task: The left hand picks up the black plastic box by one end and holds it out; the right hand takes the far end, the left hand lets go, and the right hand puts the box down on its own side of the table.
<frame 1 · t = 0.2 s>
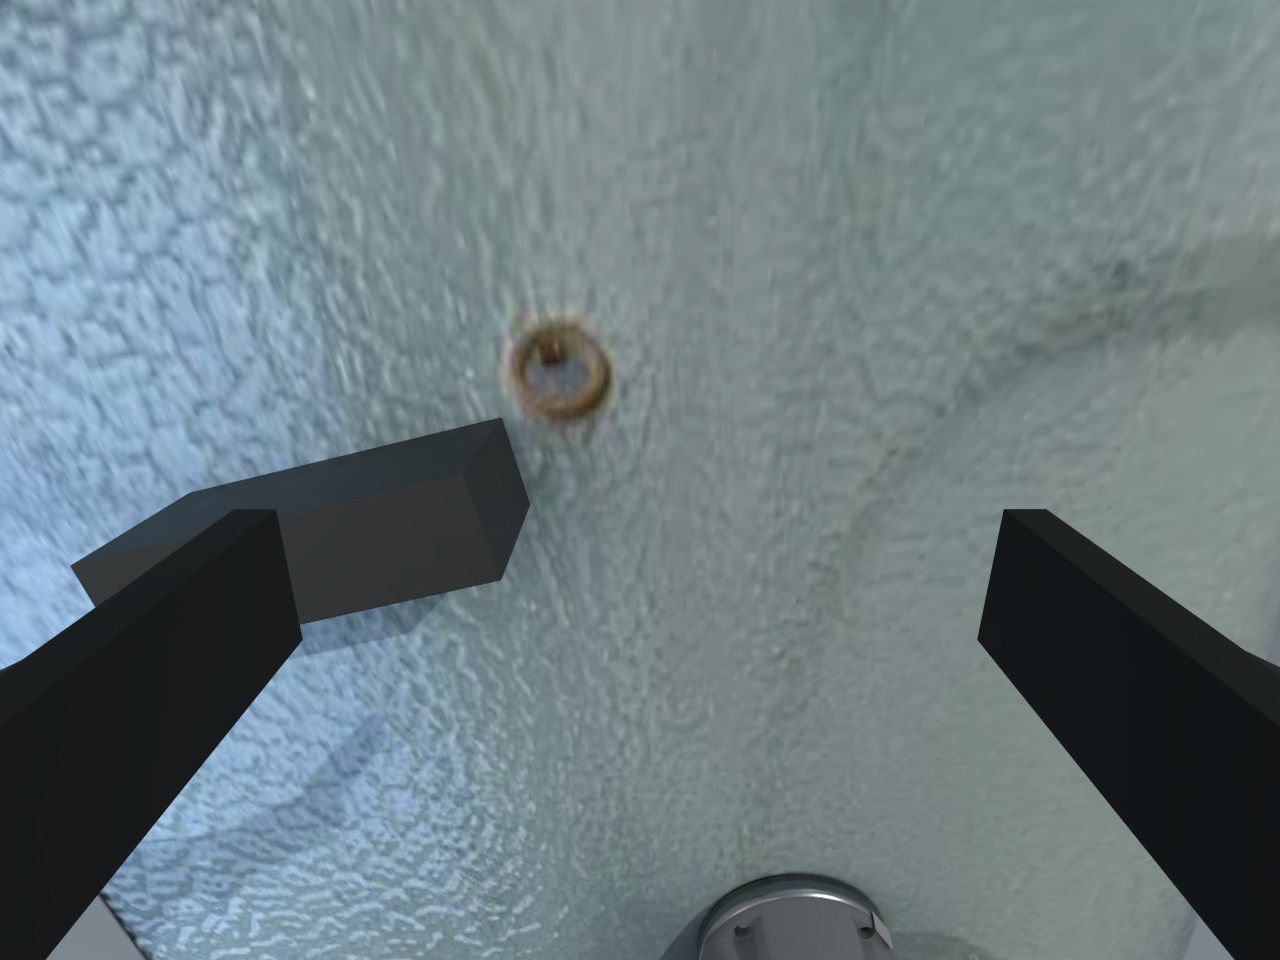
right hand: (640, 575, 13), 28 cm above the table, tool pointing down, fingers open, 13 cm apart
box: (360, 498, 42), on the table
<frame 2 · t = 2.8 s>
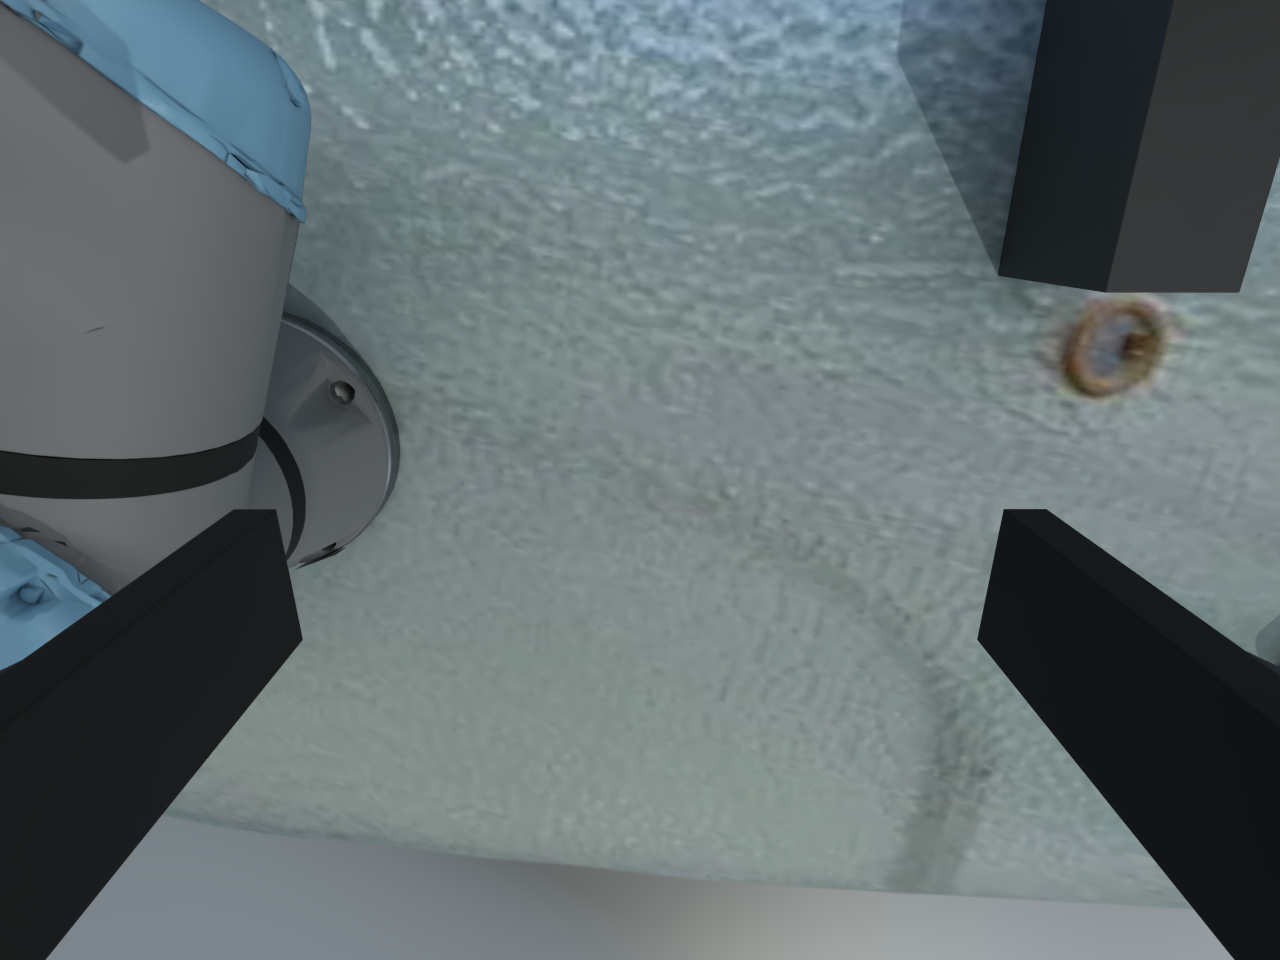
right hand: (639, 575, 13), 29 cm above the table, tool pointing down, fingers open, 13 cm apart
box: (1091, 69, 35), on the table, touching left hand
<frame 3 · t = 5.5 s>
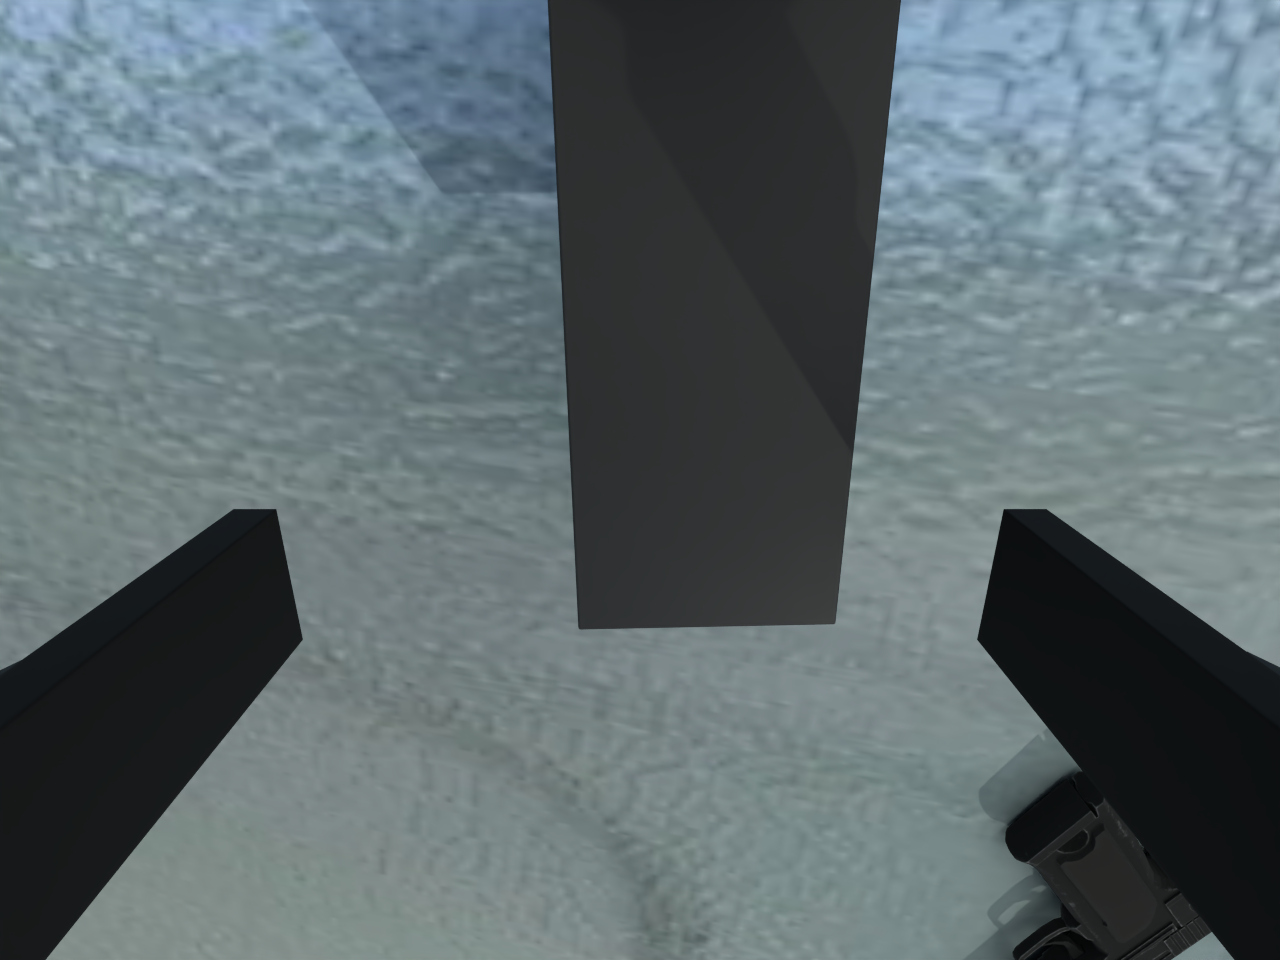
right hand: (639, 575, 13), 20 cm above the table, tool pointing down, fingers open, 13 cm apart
handgun 2: (1028, 914, 45), on the table
box: (680, 165, 21), point 9 cm above the table, touching left hand
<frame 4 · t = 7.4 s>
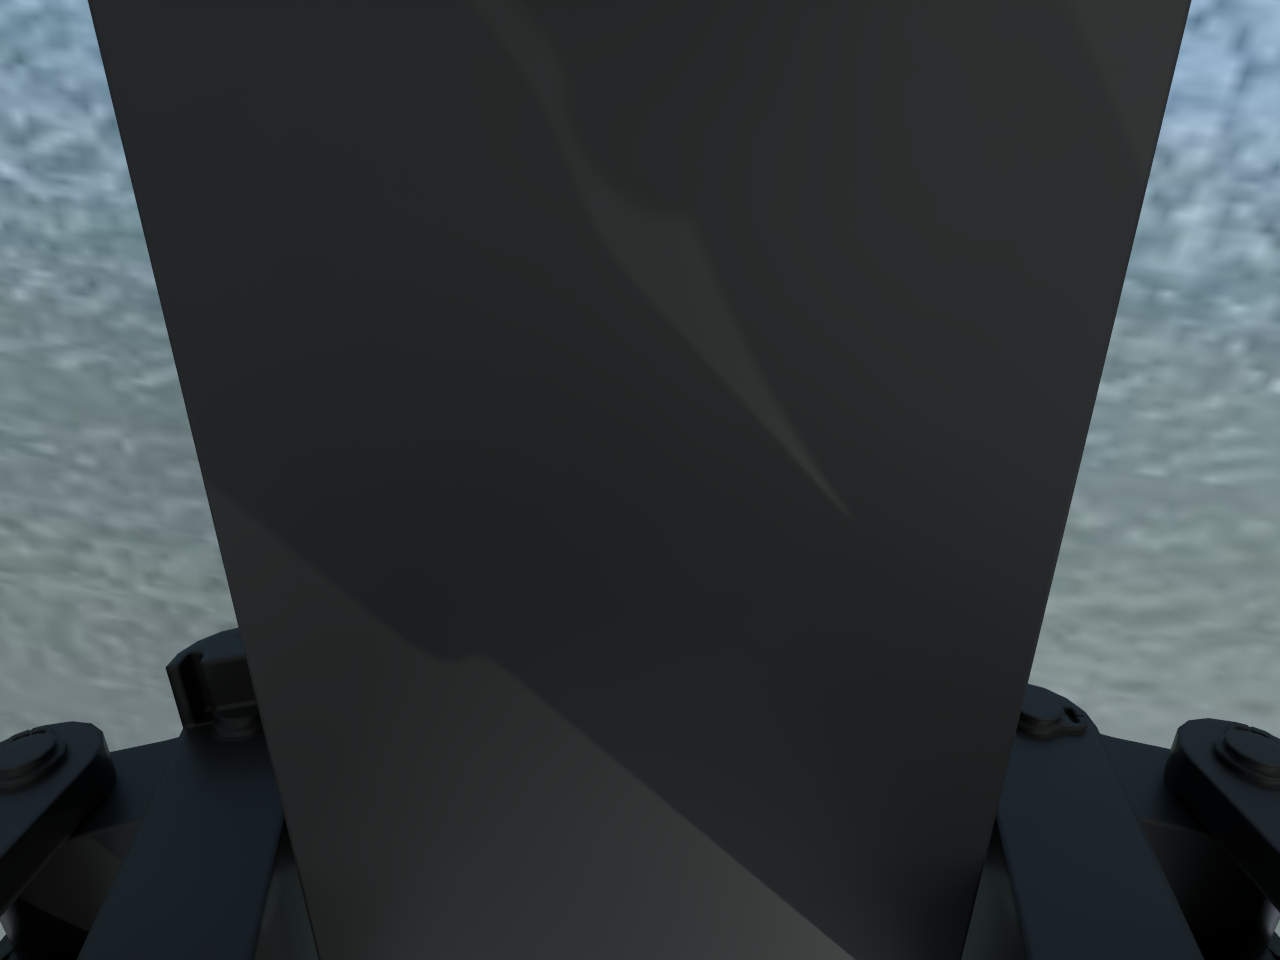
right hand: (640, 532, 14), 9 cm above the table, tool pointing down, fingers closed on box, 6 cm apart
box: (639, 171, 12), point 9 cm above the table, touching right hand, left hand
when the left hand's fingers open (14 cm above the table, at t = 8.3 s): box stays where it is, held by the right hand.
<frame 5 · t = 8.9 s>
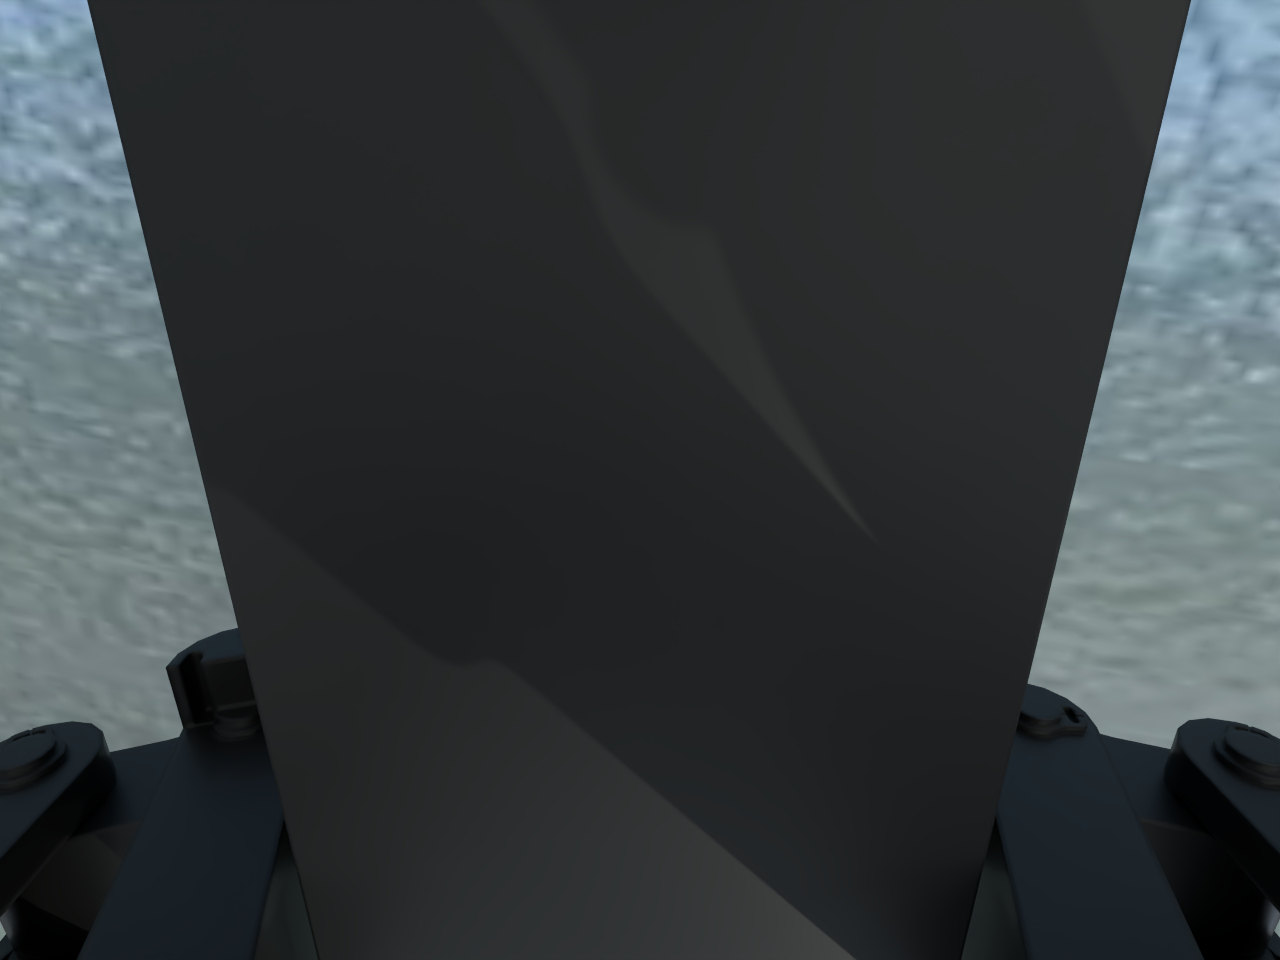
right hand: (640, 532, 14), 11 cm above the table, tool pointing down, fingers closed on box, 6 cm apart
box: (639, 171, 12), point 10 cm above the table, touching right hand
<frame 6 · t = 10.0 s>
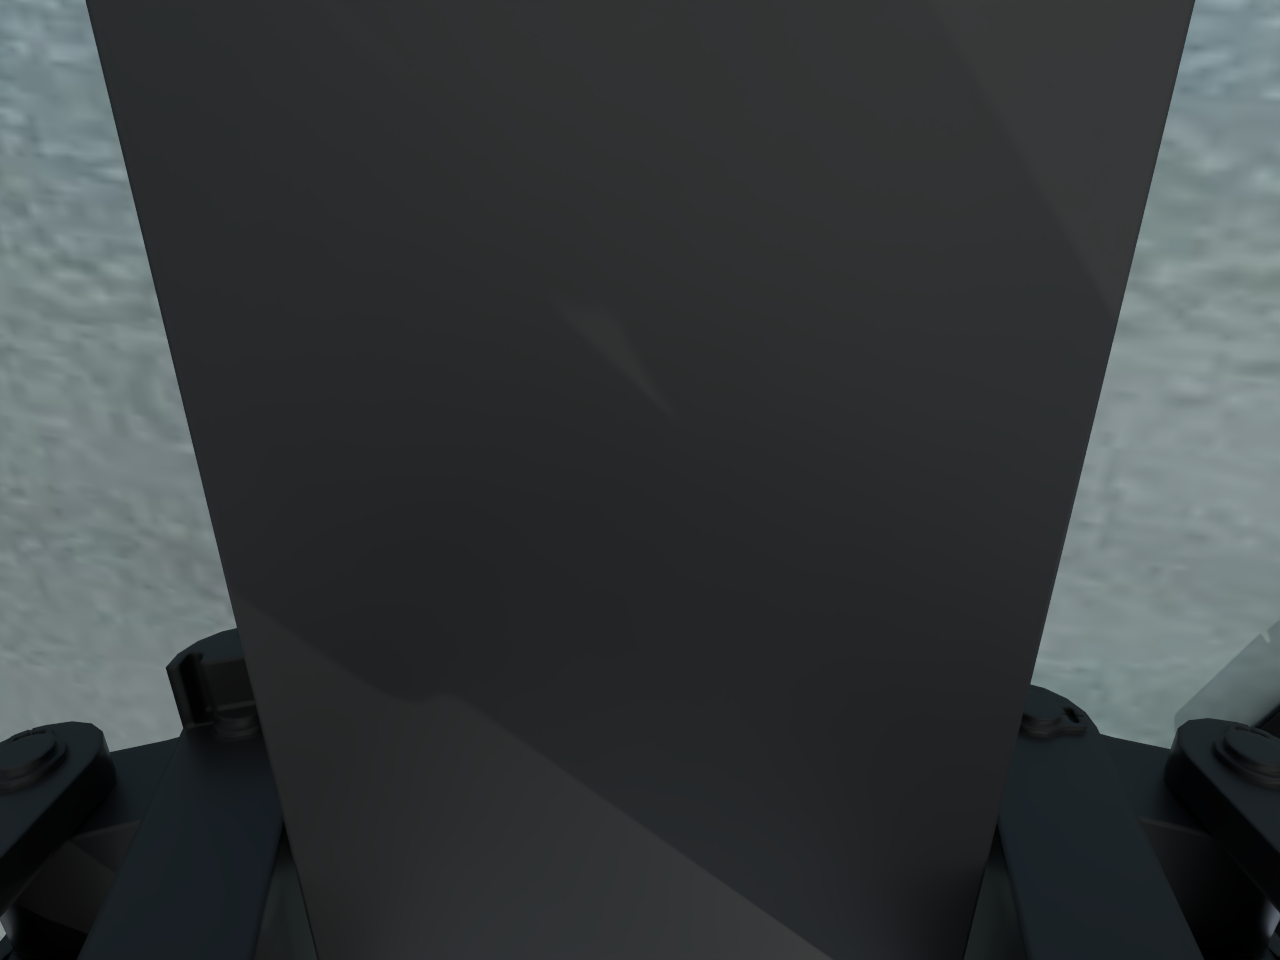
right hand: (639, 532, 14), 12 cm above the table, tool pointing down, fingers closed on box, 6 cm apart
handgun 2: (1238, 884, 34), on the table
box: (639, 170, 12), point 11 cm above the table, touching right hand
when the right hand's fingers open (2 cm above the table, at t = 12.7 s): box drops 1 cm, on the table.
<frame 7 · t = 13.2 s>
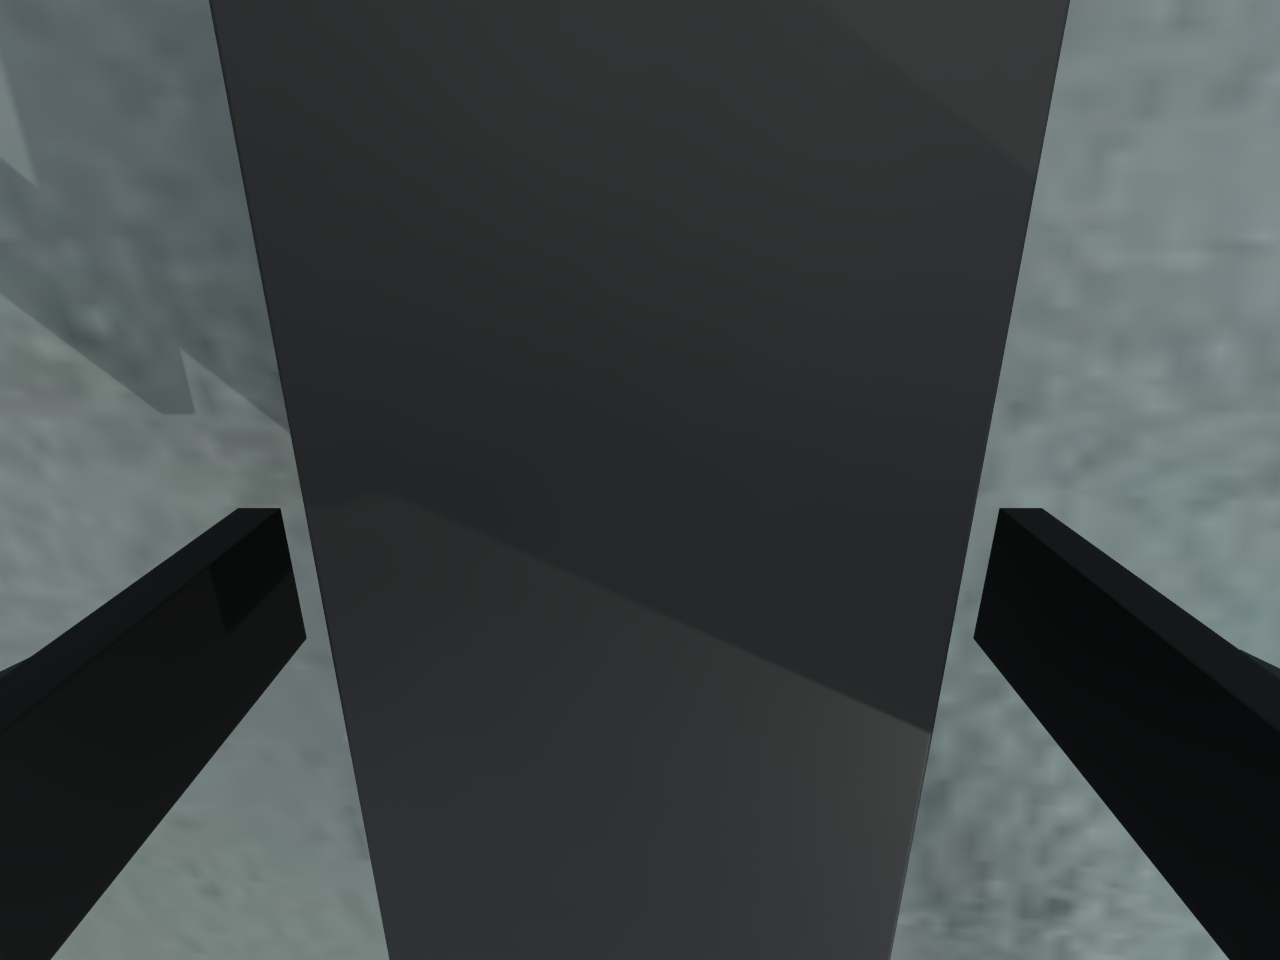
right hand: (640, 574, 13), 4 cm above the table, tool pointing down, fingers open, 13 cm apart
box: (640, 181, 14), on the table
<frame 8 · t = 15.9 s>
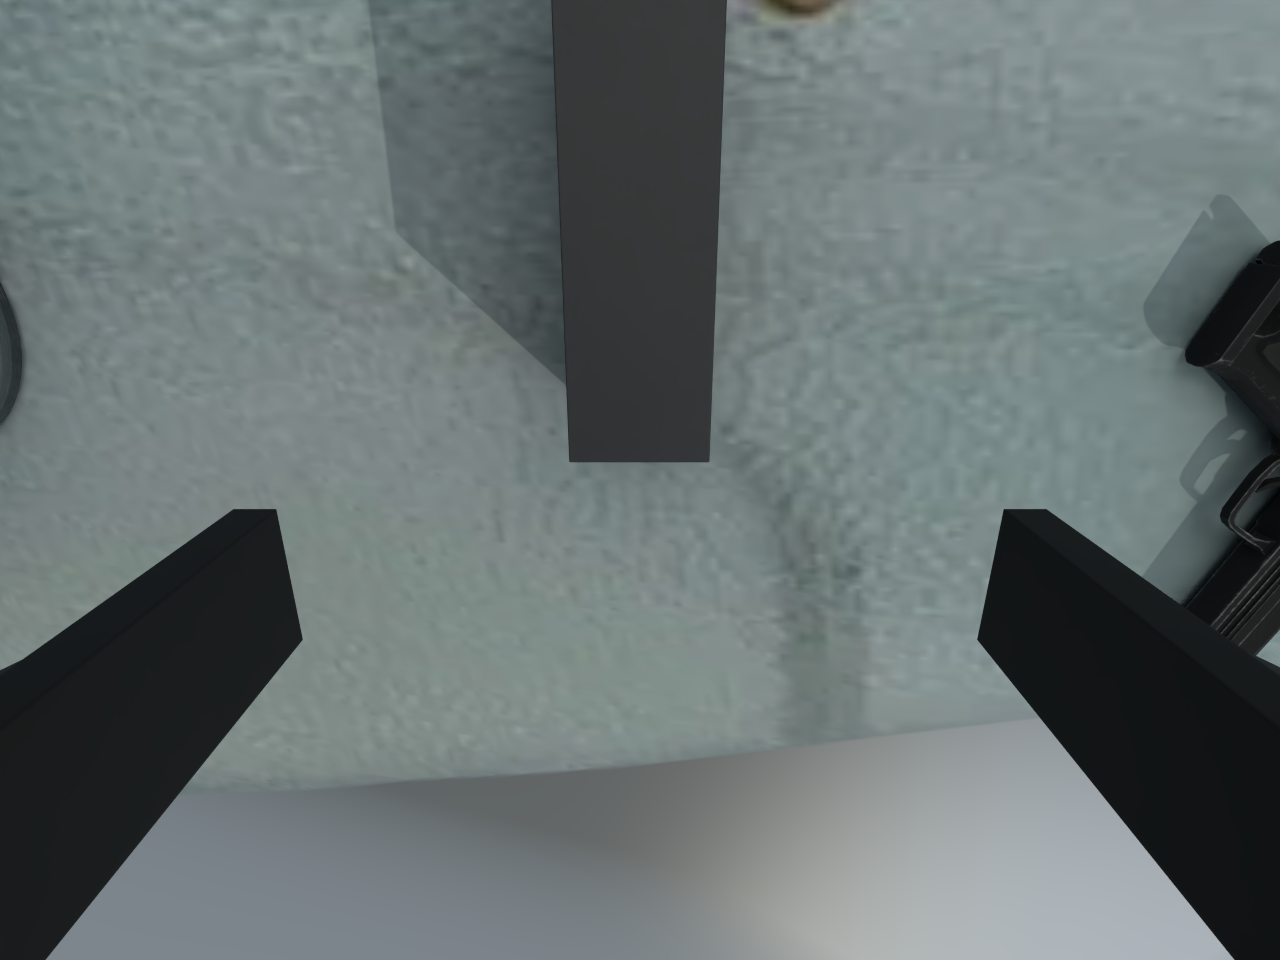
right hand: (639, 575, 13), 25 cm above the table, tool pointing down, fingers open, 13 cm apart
handgun 2: (1229, 474, 39), on the table
box: (639, 204, 34), on the table
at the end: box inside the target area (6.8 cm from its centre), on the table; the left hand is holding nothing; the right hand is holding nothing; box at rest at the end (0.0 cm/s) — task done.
